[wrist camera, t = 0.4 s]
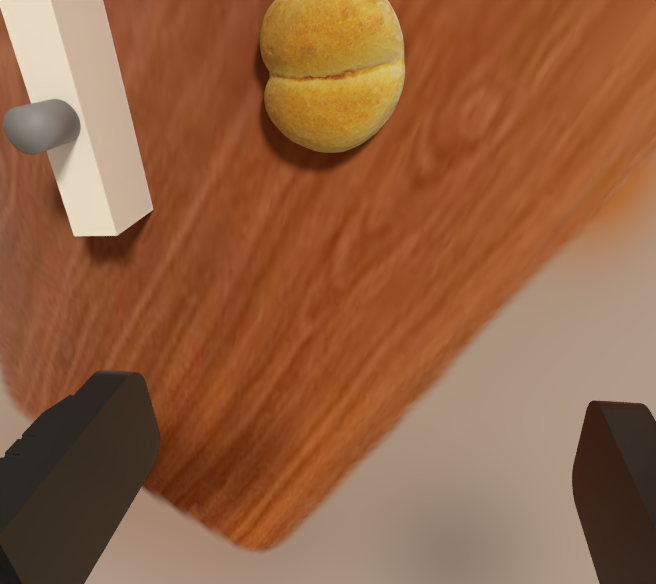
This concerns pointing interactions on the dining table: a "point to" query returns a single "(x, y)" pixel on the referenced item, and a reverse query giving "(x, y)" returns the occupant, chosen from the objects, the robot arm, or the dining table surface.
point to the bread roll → (332, 70)
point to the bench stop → (77, 112)
